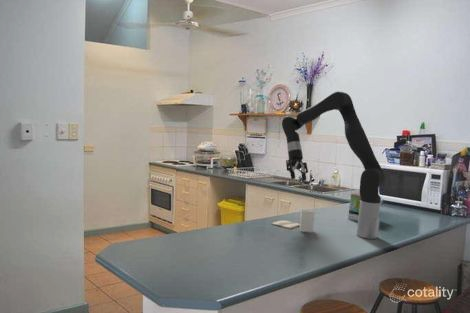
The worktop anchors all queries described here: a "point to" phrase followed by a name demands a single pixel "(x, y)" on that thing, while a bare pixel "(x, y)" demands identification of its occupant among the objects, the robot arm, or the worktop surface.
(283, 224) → the cork mat
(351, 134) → the robot arm
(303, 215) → the white rectangular block
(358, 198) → the tea box
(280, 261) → the worktop surface
